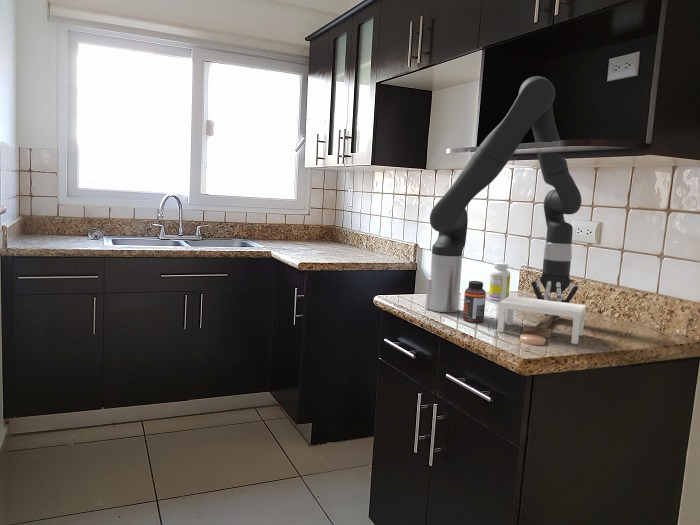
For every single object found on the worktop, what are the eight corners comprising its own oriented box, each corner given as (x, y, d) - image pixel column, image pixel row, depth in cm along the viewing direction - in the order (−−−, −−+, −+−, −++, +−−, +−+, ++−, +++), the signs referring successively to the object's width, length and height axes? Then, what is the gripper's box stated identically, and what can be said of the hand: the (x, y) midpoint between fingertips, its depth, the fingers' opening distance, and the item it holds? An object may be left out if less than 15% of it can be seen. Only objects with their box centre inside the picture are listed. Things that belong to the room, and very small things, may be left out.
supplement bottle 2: (503, 298, 200) (506, 262, 198) (511, 301, 194) (514, 264, 192) (485, 297, 199) (488, 261, 197) (493, 301, 193) (496, 264, 191)
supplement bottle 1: (458, 318, 163) (461, 280, 162) (476, 318, 165) (479, 280, 163) (469, 323, 157) (472, 283, 156) (487, 322, 159) (490, 283, 158)
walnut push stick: (522, 333, 148) (524, 311, 147) (543, 315, 173) (545, 296, 173) (550, 338, 145) (552, 315, 144) (567, 318, 170) (569, 298, 169)
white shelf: (496, 331, 149) (499, 302, 148) (507, 323, 160) (509, 295, 159) (577, 344, 140) (580, 312, 139) (582, 334, 150) (585, 305, 149)
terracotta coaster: (541, 347, 136) (541, 341, 136) (516, 343, 139) (517, 337, 139) (547, 342, 141) (548, 336, 141) (523, 338, 144) (524, 332, 144)
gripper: (530, 257, 164) (525, 315, 166) (581, 261, 157) (575, 322, 159) (535, 255, 170) (530, 311, 173) (584, 259, 164) (578, 317, 166)
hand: (551, 316), depth 166 cm, fingers closed on walnut push stick, 2 cm apart
